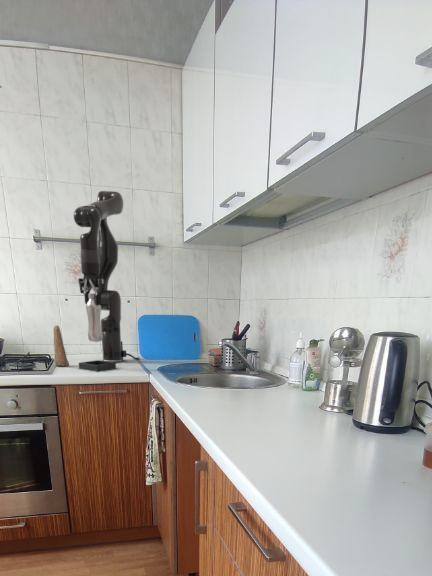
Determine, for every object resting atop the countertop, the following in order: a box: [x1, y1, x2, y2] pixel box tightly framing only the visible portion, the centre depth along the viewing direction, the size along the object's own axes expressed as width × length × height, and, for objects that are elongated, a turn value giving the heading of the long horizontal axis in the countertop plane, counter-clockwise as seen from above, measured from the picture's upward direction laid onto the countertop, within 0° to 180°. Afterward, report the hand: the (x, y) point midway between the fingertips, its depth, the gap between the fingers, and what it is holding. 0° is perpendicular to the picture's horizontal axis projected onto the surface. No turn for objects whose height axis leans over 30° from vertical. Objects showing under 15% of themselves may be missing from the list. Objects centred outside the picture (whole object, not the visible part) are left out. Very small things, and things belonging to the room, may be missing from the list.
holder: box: [78, 359, 117, 372], centre depth 212 cm, size 12×12×3 cm
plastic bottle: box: [85, 293, 103, 343], centre depth 204 cm, size 6×7×20 cm
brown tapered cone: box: [53, 325, 70, 367], centre depth 213 cm, size 6×18×6 cm
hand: (93, 304), depth 202 cm, fingers closed on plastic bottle, 6 cm apart
